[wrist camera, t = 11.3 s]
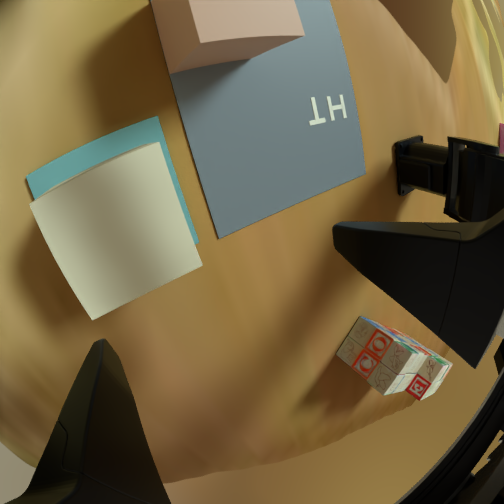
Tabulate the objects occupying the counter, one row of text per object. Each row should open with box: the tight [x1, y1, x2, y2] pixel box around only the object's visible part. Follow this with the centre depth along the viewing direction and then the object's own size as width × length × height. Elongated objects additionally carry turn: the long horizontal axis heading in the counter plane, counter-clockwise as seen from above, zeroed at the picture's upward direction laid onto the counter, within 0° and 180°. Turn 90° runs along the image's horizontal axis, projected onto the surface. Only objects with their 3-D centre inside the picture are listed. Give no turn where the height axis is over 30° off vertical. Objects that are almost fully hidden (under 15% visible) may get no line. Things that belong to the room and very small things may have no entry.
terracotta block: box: [151, 0, 305, 74], centre depth 11 cm, size 6×6×6 cm
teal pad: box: [26, 116, 199, 244], centre depth 16 cm, size 9×9×1 cm
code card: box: [150, 0, 366, 239], centre depth 18 cm, size 16×20×1 cm
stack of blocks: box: [336, 316, 453, 401], centre depth 35 cm, size 21×6×12 cm, turn 57°
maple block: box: [29, 142, 202, 320], centre depth 13 cm, size 6×6×6 cm
